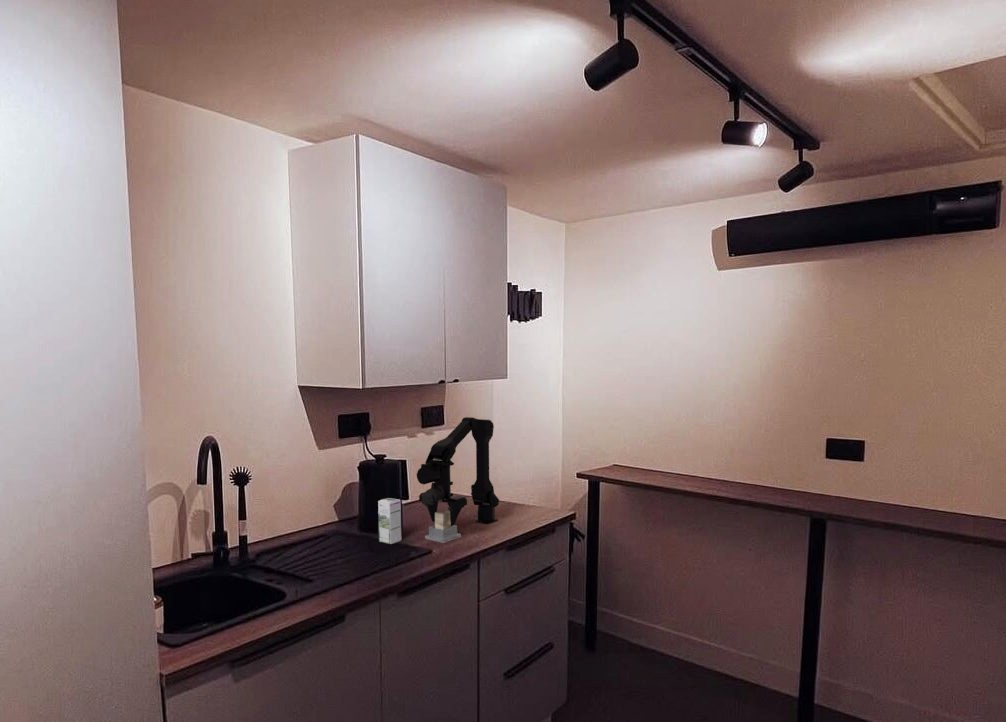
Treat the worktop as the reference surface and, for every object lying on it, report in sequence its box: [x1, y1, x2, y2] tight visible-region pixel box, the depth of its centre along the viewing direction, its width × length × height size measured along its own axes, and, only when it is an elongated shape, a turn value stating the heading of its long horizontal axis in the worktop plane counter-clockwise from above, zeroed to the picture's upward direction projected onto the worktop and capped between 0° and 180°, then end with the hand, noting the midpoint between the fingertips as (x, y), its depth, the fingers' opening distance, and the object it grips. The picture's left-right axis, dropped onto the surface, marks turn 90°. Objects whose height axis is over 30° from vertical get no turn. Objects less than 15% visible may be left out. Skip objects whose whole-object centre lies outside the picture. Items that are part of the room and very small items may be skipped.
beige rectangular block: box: [434, 510, 451, 529], centre depth 215 cm, size 4×4×8 cm
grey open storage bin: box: [424, 524, 462, 544], centre depth 215 cm, size 9×9×4 cm
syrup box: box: [377, 497, 402, 545], centre depth 212 cm, size 6×6×14 cm
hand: (443, 523), depth 215 cm, fingers open, 9 cm apart
